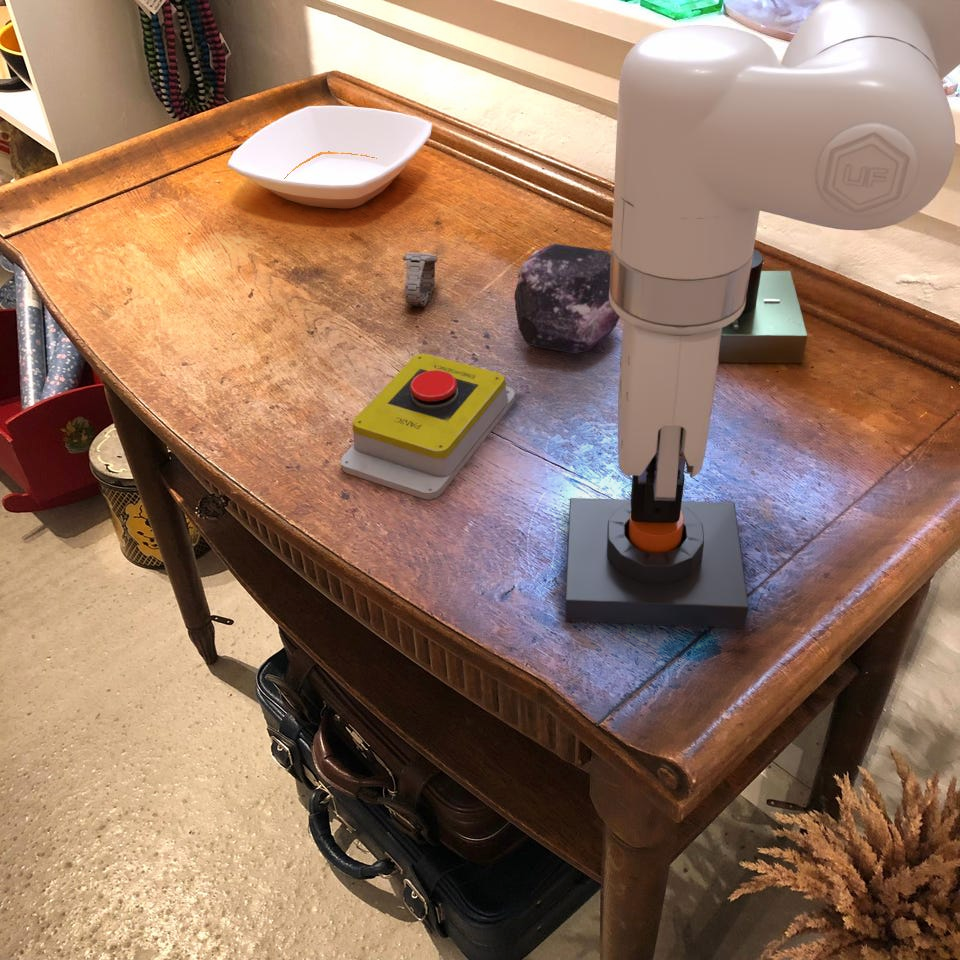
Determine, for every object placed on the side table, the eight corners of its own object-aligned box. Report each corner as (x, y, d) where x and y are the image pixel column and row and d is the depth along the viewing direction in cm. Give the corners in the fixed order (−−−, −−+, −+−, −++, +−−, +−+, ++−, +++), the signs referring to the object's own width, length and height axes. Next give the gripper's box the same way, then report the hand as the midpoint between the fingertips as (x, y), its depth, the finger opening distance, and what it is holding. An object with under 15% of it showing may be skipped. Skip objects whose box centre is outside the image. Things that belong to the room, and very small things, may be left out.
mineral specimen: (584, 277, 96) (607, 207, 87) (624, 363, 92) (653, 299, 83) (492, 297, 93) (506, 227, 84) (529, 386, 89) (547, 323, 80)
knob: (706, 287, 91) (711, 241, 88) (754, 288, 90) (761, 242, 87) (708, 313, 88) (714, 266, 84) (758, 314, 87) (766, 267, 84)
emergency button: (518, 354, 82) (429, 460, 73) (519, 395, 85) (434, 502, 76) (424, 330, 86) (328, 428, 76) (428, 370, 89) (336, 469, 79)
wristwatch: (444, 283, 100) (440, 239, 97) (430, 316, 95) (425, 271, 92) (411, 281, 101) (406, 238, 97) (395, 314, 96) (389, 269, 93)
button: (680, 517, 68) (682, 499, 67) (683, 554, 65) (685, 536, 64) (628, 515, 68) (629, 497, 67) (629, 552, 66) (630, 534, 64)
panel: (785, 297, 94) (790, 269, 92) (802, 363, 86) (808, 334, 84) (640, 297, 96) (642, 268, 94) (643, 361, 88) (645, 332, 86)
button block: (731, 523, 72) (737, 484, 69) (744, 628, 65) (752, 589, 62) (569, 518, 74) (570, 479, 71) (565, 621, 66) (565, 582, 63)
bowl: (456, 159, 122) (453, 117, 118) (371, 239, 108) (365, 195, 104) (310, 138, 129) (303, 98, 126) (213, 210, 115) (202, 168, 112)
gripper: (609, 210, 59) (599, 441, 71) (609, 352, 48) (597, 595, 60) (735, 211, 58) (703, 444, 71) (764, 355, 47) (720, 601, 60)
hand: (654, 513), depth 65 cm, fingers closed
